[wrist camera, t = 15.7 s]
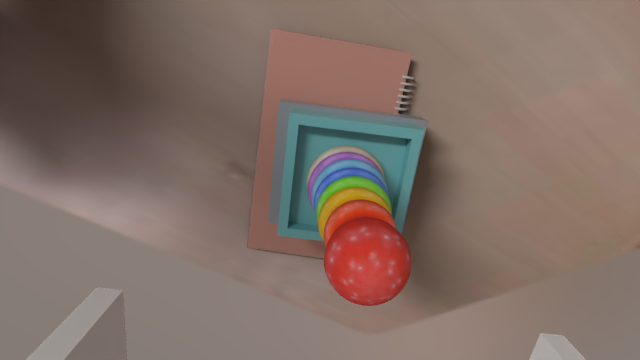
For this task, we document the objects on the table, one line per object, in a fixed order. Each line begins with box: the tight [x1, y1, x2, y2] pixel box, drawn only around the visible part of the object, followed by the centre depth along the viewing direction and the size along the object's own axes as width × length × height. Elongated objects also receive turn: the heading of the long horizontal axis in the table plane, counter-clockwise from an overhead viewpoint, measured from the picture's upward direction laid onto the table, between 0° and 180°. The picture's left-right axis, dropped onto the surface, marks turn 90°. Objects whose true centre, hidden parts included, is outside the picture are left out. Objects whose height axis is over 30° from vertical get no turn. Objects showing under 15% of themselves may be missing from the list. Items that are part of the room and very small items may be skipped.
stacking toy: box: [307, 145, 411, 306], centre depth 27 cm, size 8×8×19 cm
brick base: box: [268, 99, 428, 241], centre depth 38 cm, size 16×14×7 cm
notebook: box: [247, 28, 415, 259], centre depth 42 cm, size 27×17×2 cm, turn 171°
